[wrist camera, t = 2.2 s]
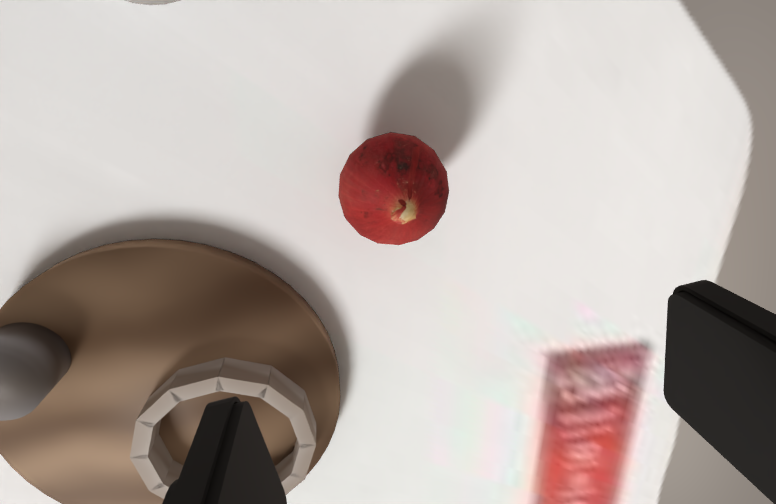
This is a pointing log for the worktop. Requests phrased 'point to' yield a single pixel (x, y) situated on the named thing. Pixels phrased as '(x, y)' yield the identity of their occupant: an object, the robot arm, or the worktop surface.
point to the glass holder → (152, 1)
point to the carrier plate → (156, 368)
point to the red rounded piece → (393, 189)
